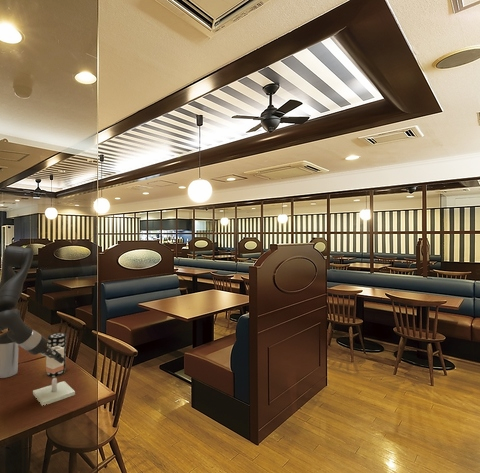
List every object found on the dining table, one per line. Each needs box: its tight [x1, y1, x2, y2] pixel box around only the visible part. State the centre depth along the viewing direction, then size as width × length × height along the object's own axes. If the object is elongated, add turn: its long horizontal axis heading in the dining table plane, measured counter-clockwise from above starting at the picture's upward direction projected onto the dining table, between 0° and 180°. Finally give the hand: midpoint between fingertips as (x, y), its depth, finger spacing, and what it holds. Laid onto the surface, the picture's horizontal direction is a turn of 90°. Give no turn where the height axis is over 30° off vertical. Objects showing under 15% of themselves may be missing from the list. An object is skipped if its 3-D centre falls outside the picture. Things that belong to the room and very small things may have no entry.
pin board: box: [32, 377, 76, 407], centre depth 137 cm, size 14×13×8 cm
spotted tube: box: [46, 332, 67, 378], centre depth 158 cm, size 8×8×20 cm
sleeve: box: [45, 346, 64, 374], centre depth 137 cm, size 5×5×10 cm
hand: (59, 359), depth 139 cm, fingers closed on sleeve, 5 cm apart
